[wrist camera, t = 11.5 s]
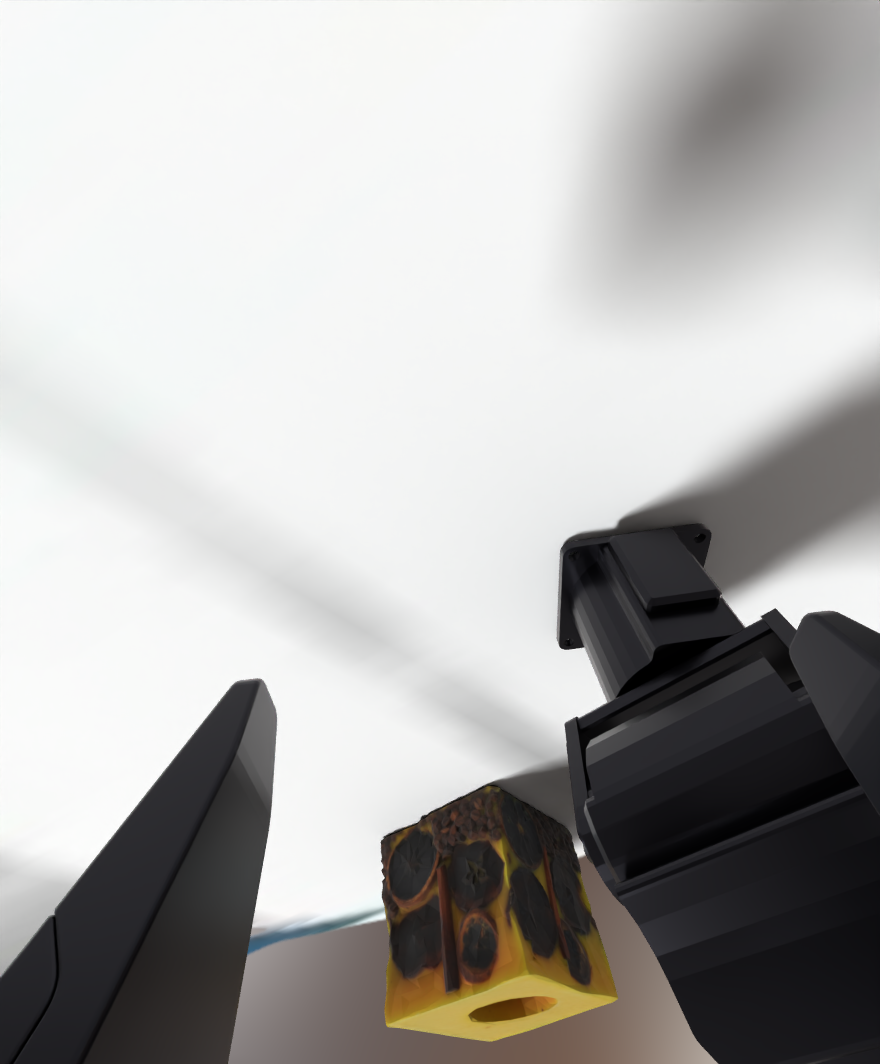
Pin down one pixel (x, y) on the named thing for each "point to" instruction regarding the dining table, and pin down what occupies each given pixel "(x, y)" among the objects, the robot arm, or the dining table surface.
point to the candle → (488, 922)
